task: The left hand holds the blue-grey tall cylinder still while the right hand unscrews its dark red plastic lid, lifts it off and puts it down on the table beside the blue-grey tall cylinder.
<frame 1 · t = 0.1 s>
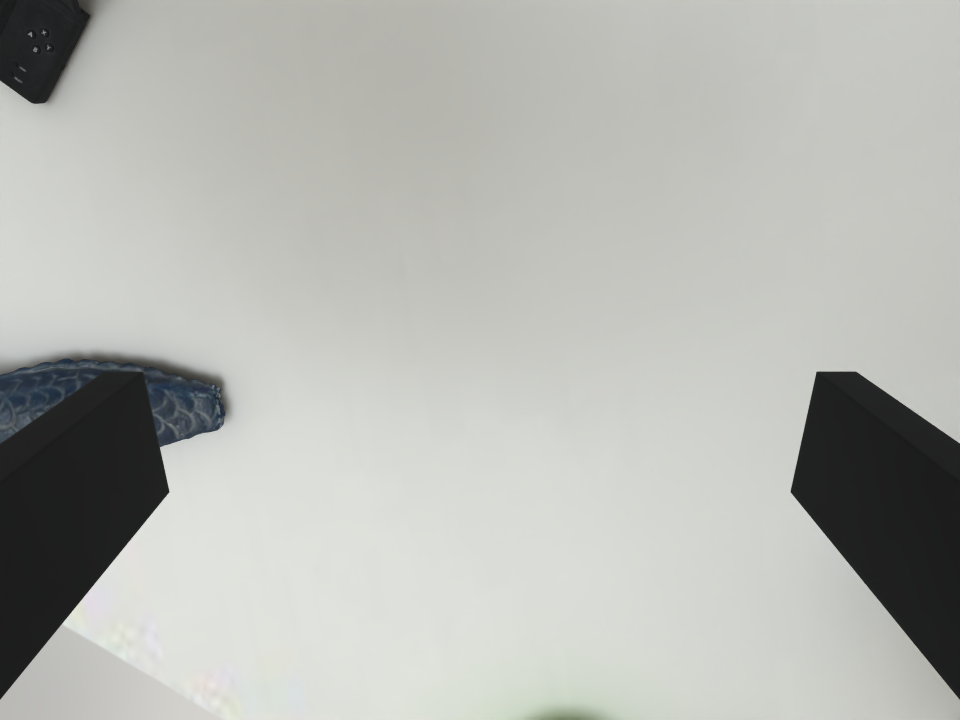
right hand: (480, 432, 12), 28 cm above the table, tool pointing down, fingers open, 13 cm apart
fish model: (80, 402, 43), on the table
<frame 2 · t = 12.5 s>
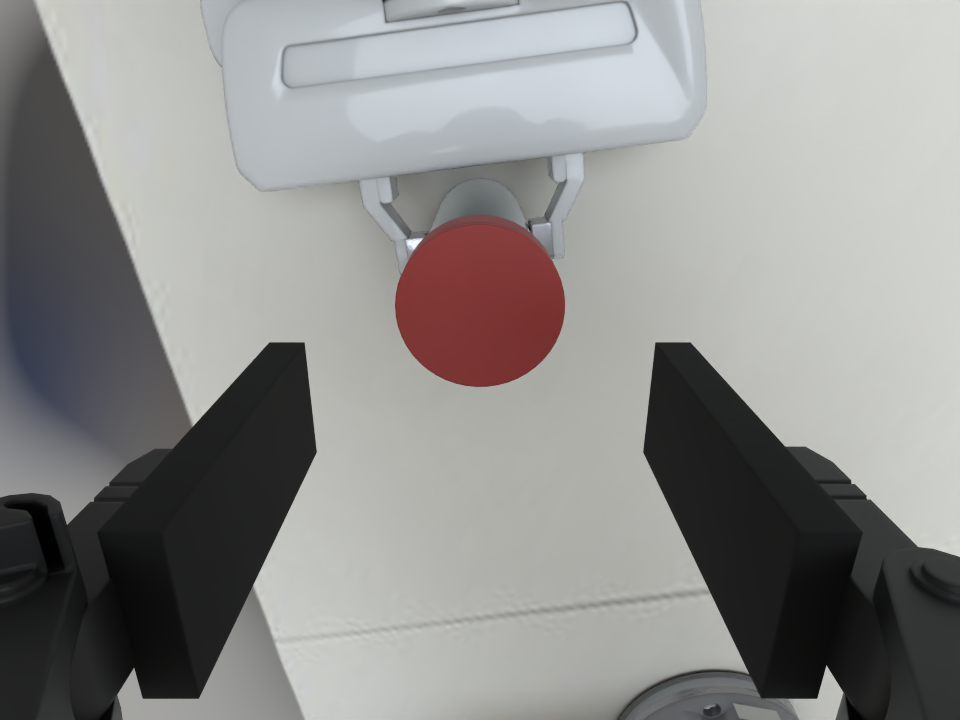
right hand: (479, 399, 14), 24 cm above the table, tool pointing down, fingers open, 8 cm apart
left hand: (483, 264, 30), fingers closed on blue-grey tall cylinder, 5 cm apart
lid: (480, 306, 21), point 17 cm above the table, screwed on, not yet turned
blue-grey tall cylinder: (480, 222, 36), on the table, touching left hand
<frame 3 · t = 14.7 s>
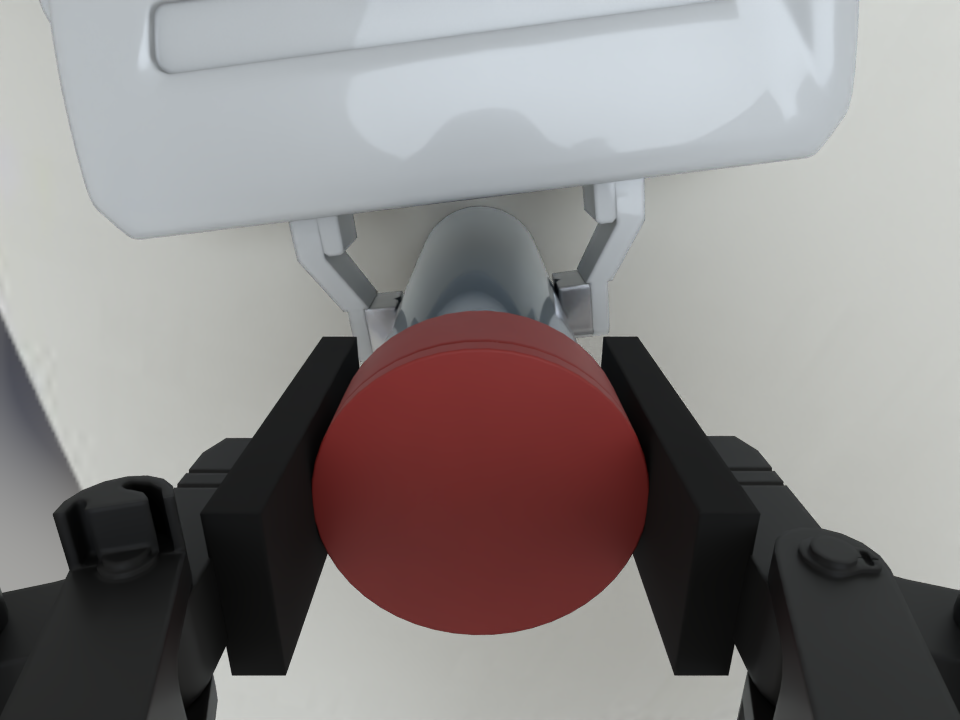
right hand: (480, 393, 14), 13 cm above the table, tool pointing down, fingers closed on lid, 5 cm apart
lid: (480, 494, 10), point 17 cm above the table, screwed on, not yet turned, touching right hand
blue-grey tall cylinder: (480, 266, 26), on the table, touching left hand
when the right hand's fingers open (13 cm above the table, at t = 16.0 s): lid stays where it is, point 17 cm above the table.
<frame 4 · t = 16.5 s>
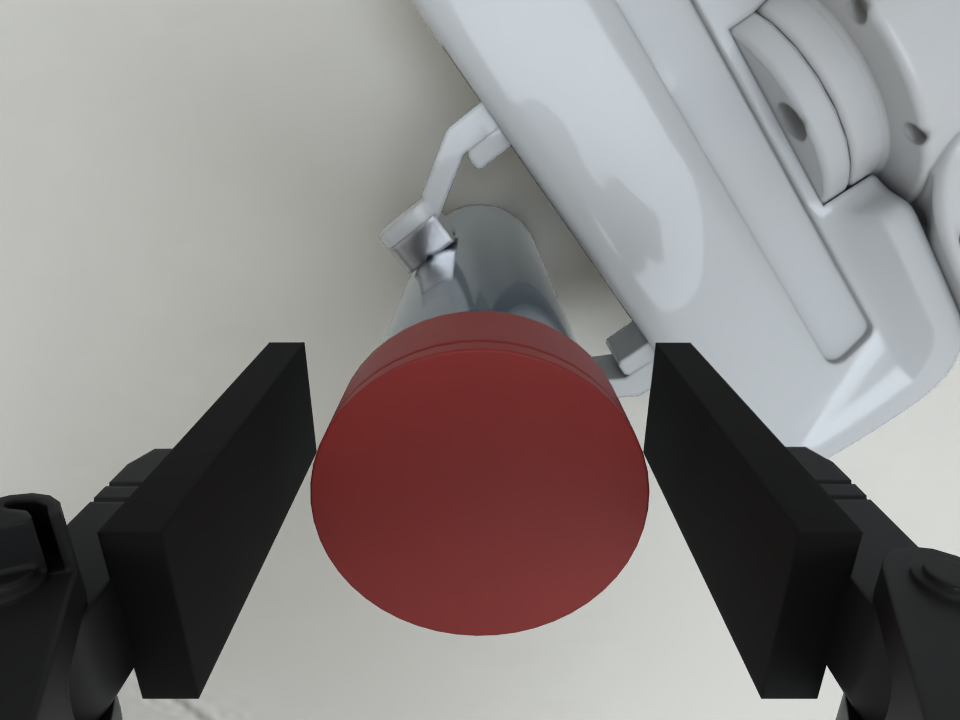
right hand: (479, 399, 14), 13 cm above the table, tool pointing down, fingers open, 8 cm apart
left hand: (458, 330, 20), fingers closed on blue-grey tall cylinder, 5 cm apart
lid: (479, 495, 10), point 17 cm above the table, turned 99° so far, risen 0.3 cm, still on its thread
blue-grey tall cylinder: (479, 264, 26), on the table, touching left hand
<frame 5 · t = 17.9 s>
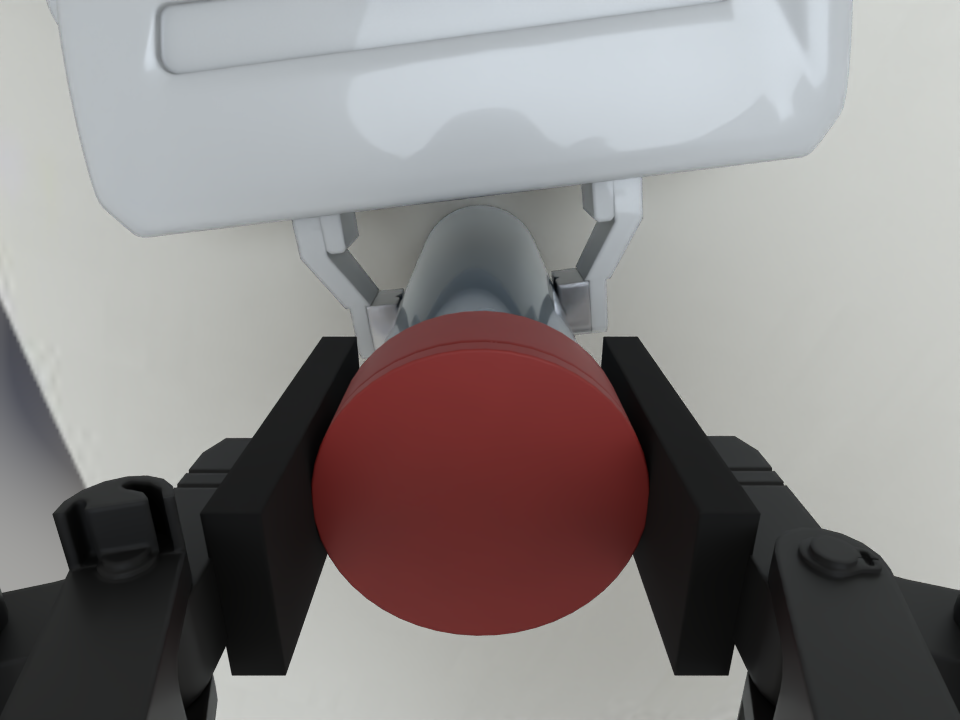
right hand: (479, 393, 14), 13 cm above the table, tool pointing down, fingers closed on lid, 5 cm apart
lid: (480, 495, 10), point 17 cm above the table, turned 99° so far, risen 0.3 cm, still on its thread, touching right hand
blue-grey tall cylinder: (480, 264, 26), on the table, touching left hand
when the right hand's fingers open (0 cm above the table, at t = 24.1 s): lid stays where it is, point 2 cm above the table.
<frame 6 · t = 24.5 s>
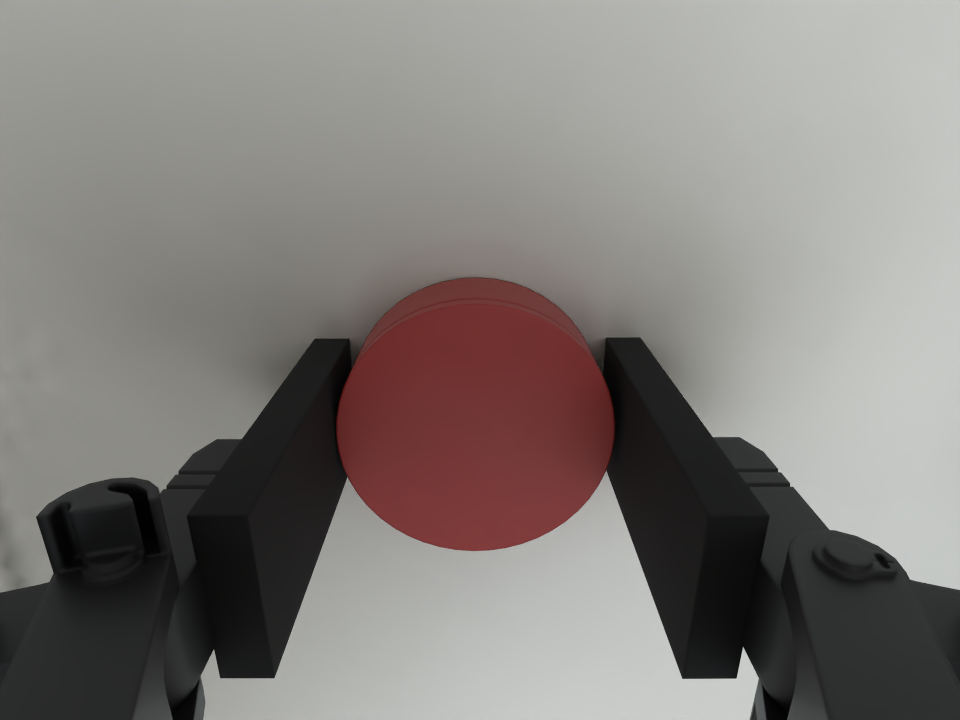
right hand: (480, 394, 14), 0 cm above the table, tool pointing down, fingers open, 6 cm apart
lid: (475, 429, 13), point 2 cm above the table, off its thread
when the left hand's fingers open (7 cm above the table, at t = 25.9 s): blue-grey tall cylinder stays where it is, on the table.
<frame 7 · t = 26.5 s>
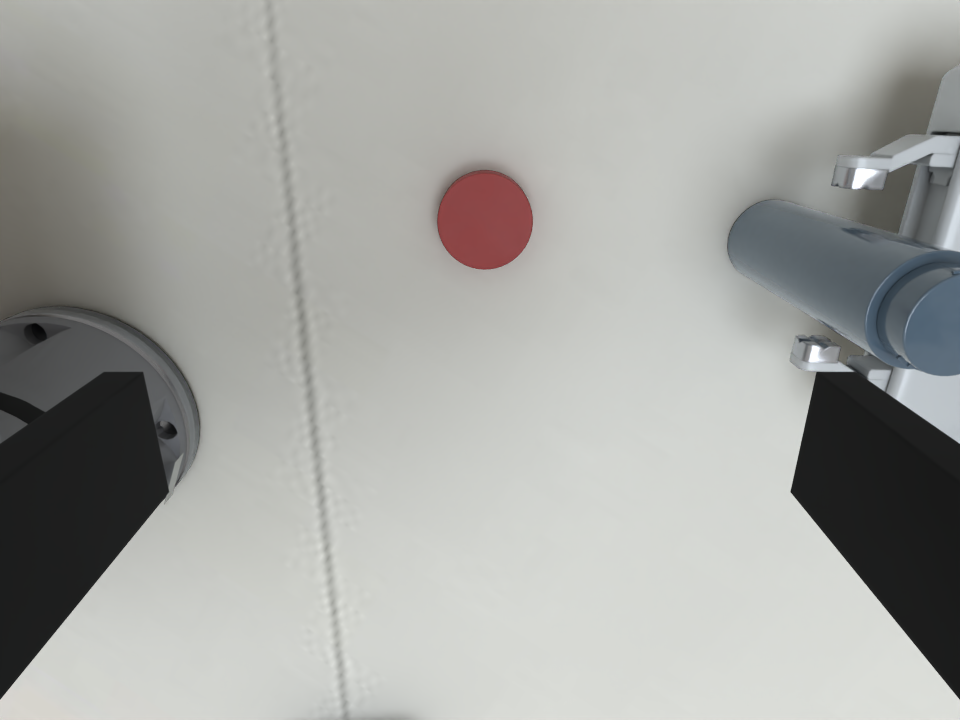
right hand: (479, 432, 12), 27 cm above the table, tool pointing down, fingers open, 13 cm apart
lid: (485, 221, 36), point 2 cm above the table, off its thread
blue-grey tall cylinder: (767, 240, 38), on the table
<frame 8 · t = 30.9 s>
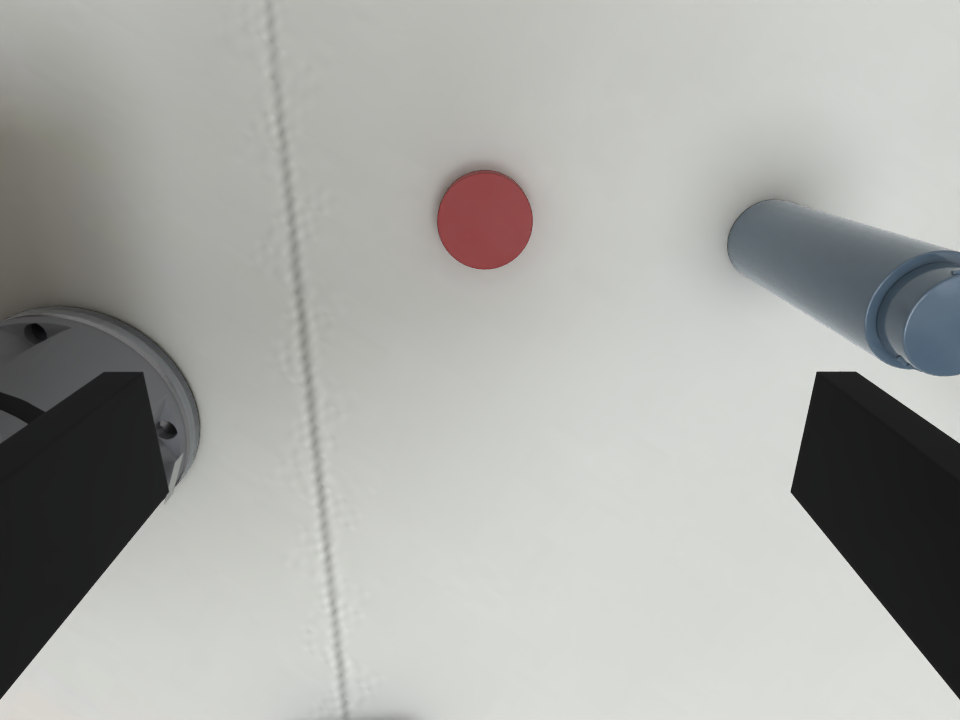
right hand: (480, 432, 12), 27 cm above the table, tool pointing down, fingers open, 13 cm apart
lid: (484, 221, 36), point 2 cm above the table, off its thread
blue-grey tall cylinder: (767, 240, 38), on the table
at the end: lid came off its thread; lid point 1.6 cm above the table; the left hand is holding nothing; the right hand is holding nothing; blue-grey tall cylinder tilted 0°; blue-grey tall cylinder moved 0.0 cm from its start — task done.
